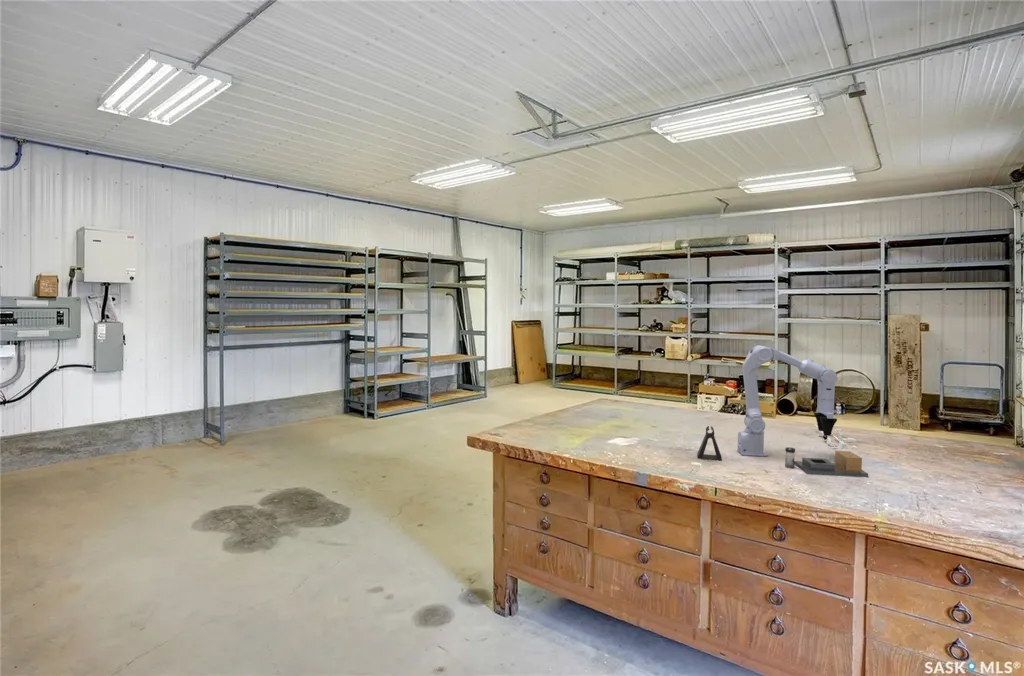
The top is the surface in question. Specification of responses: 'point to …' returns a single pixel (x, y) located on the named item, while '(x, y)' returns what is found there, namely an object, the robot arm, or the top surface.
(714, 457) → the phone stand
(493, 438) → the top surface
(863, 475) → the square socket plate
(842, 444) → the miniature set
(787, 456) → the shiny metal cylinder
